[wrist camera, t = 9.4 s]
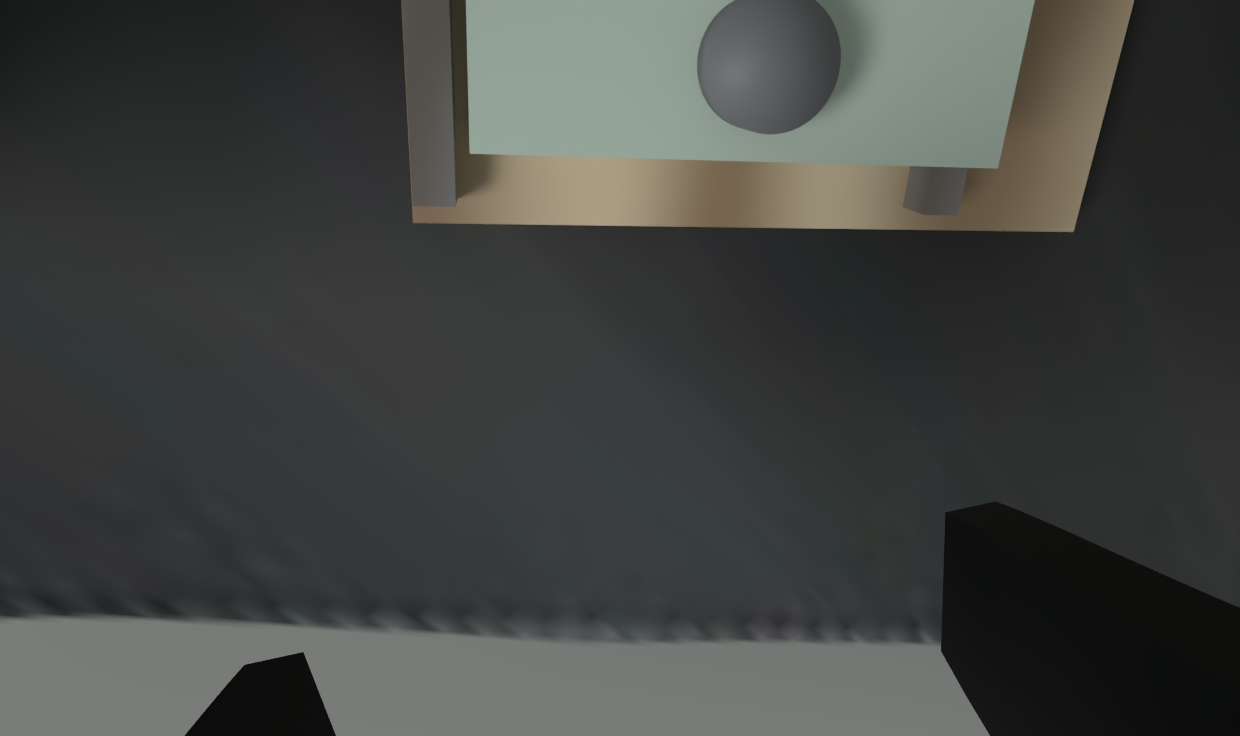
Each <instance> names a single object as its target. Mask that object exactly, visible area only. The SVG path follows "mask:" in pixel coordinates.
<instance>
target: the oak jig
mask: <svg viewBox="0 0 1240 736" xmlns="http://www.w3.org/2000/svg"><path fill="white" fill-rule="evenodd" d="M1133 3H1134V0H1035V2H1034V7H1033V11H1032V16H1031V20H1030V25H1029V29H1028V34H1027V38H1026V43H1025V47H1024V52H1023V57H1022V61H1021V66H1020V70H1019V75H1018V79H1017V84H1016V88H1015V93H1014V98H1013V102H1012V107H1011V111H1010V116H1009V120H1008V125H1007V129H1006V134H1005V138H1004V143H1003V148H1002V152H1001V157H1000V161H999V166H998V169H996V168H960V167H925V166H889V165H853V164H818V163H782V162H747V161H711V160H676V159H640V158H605V157H569V156H534V155H498V154H470V147H469V108H468V69H467V30H466V0H401V8H402V26H403V45H404V64H405V82H406V101H407V120H408V139H409V157H410V176H411V195H412V214H413V223H457V224H529V225H602V226H674V227H747V228H819V229H892V230H964V231H1037V232H1074V228H1075V224H1076V220H1077V217H1078V213H1079V209H1080V205H1081V201H1082V198H1083V194H1084V190H1085V186H1086V182H1087V179H1088V175H1089V171H1090V167H1091V163H1092V160H1093V156H1094V152H1095V148H1096V144H1097V141H1098V137H1099V133H1100V129H1101V125H1102V121H1103V118H1104V114H1105V110H1106V106H1107V102H1108V99H1109V95H1110V91H1111V87H1112V83H1113V80H1114V76H1115V72H1116V68H1117V64H1118V61H1119V57H1120V53H1121V49H1122V45H1123V42H1124V38H1125V34H1126V30H1127V26H1128V23H1129V19H1130V15H1131V11H1132V7H1133Z"/></svg>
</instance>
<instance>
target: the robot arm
mask: <svg viewBox="0 0 1240 736" xmlns="http://www.w3.org/2000/svg"><path fill="white" fill-rule="evenodd" d="M941 651H942V653H943V655H944V657H945V659H946V661H947V662H948V664H949V666H950V668H951V669H952V671H953V673H954V675H955V677H956V678H957V680H958V682H959V684H960V685H961V687H962V689H963V691H964V693H965V694H966V696H967V698H968V700H969V701H970V703H971V705H972V706H973V708H974V710H975V711H976V713H977V714H978V716H979V718H980V719H981V721H982V723H983V724H984V726H985V728H986V730H987V731H988V733H989V734H990V736H1240V608H1239V607H1236V606H1234V605H1232V604H1229V603H1227V602H1225V601H1222V600H1220V599H1218V598H1215V597H1213V596H1211V595H1208V594H1206V593H1204V592H1201V591H1199V590H1197V589H1195V588H1192V587H1190V586H1188V585H1186V584H1183V583H1181V582H1179V581H1176V580H1174V579H1172V578H1170V577H1167V576H1165V575H1163V574H1161V573H1158V572H1156V571H1154V570H1152V569H1149V568H1147V567H1145V566H1143V565H1140V564H1138V563H1136V562H1134V561H1132V560H1129V559H1127V558H1125V557H1123V556H1120V555H1118V554H1116V553H1114V552H1112V551H1109V550H1107V549H1105V548H1103V547H1101V546H1098V545H1096V544H1094V543H1092V542H1089V541H1087V540H1085V539H1083V538H1081V537H1078V536H1076V535H1074V534H1072V533H1069V532H1067V531H1065V530H1063V529H1060V528H1058V527H1056V526H1054V525H1051V524H1049V523H1047V522H1045V521H1042V520H1040V519H1038V518H1035V517H1033V516H1031V515H1028V514H1026V513H1024V512H1021V511H1019V510H1016V509H1014V508H1011V507H1009V506H1006V505H1003V504H1001V503H998V502H992V503H987V504H982V505H978V506H973V507H969V508H964V509H959V510H955V511H950V512H946V513H945V545H944V576H943V607H942V639H941ZM185 736H336V735H335V732H334V730H333V727H332V725H331V722H330V720H329V718H328V715H327V712H326V709H325V707H324V704H323V702H322V699H321V697H320V694H319V691H318V689H317V686H316V684H315V681H314V679H313V676H312V673H311V671H310V668H309V666H308V663H307V661H306V658H305V655H304V653H303V652H302V653H297V654H293V655H288V656H284V657H279V658H274V659H270V660H266V661H261V662H256V663H251V664H247V665H244V666H243V667H242V668H241V670H240V671H239V672H238V673H237V674H236V675H235V676H234V677H233V679H232V680H231V681H230V682H229V683H228V684H227V685H226V687H225V688H224V689H223V690H222V691H221V693H220V694H219V695H218V696H217V697H216V699H215V700H214V701H213V702H212V703H211V704H210V706H209V707H208V708H207V709H206V710H205V712H204V713H203V714H202V715H201V716H200V718H199V719H198V720H197V721H196V723H195V724H194V725H193V726H192V727H191V729H190V730H189V731H188V732H187V734H186V735H185Z"/></svg>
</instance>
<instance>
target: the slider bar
mask: <svg viewBox="0 0 1240 736" xmlns="http://www.w3.org/2000/svg"><path fill="white" fill-rule="evenodd" d="M1034 2H1035V0H466V30H467V69H468V108H469V147H470V154H498V155H534V156H569V157H605V158H640V159H676V160H711V161H747V162H782V163H818V164H853V165H889V166H925V167H960V168H996V169H998V166H999V161H1000V157H1001V152H1002V148H1003V143H1004V138H1005V134H1006V129H1007V125H1008V120H1009V116H1010V111H1011V107H1012V102H1013V98H1014V93H1015V88H1016V84H1017V79H1018V75H1019V70H1020V66H1021V61H1022V57H1023V52H1024V47H1025V43H1026V38H1027V34H1028V29H1029V25H1030V20H1031V16H1032V11H1033V7H1034Z"/></svg>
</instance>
